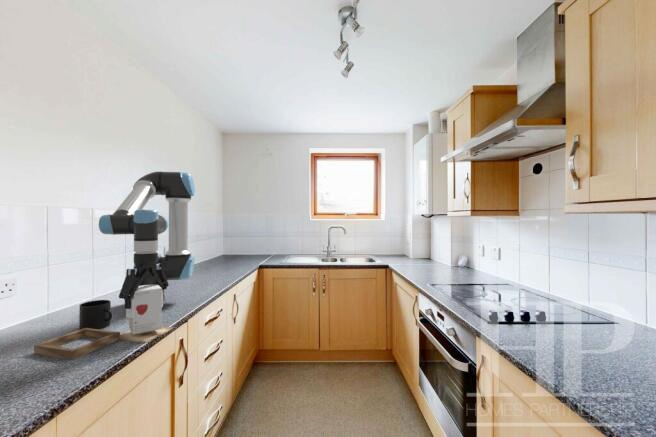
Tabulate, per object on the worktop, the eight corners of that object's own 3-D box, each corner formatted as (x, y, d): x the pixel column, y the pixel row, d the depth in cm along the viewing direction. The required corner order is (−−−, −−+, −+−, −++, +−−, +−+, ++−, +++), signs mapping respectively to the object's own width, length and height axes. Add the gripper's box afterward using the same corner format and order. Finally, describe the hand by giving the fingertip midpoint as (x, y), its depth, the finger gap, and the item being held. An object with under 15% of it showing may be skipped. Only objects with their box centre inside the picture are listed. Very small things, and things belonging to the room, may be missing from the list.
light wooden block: (145, 325, 117) (145, 324, 117) (173, 329, 113) (173, 327, 113) (114, 338, 104) (114, 337, 104) (145, 343, 101) (145, 341, 101)
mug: (100, 332, 110) (100, 307, 110) (72, 330, 112) (72, 305, 112) (122, 323, 119) (122, 300, 119) (96, 321, 121) (96, 299, 121)
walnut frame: (85, 334, 107) (85, 327, 107) (120, 339, 104) (120, 332, 104) (34, 353, 92) (34, 345, 92) (72, 359, 89) (72, 351, 89)
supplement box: (132, 335, 102) (132, 291, 102) (128, 327, 109) (129, 286, 109) (162, 329, 108) (162, 287, 108) (157, 322, 115) (157, 283, 115)
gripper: (163, 248, 121) (162, 302, 121) (105, 256, 98) (105, 322, 98) (178, 249, 120) (178, 303, 120) (124, 256, 96) (123, 324, 96)
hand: (145, 312), depth 109 cm, fingers closed on supplement box, 12 cm apart
